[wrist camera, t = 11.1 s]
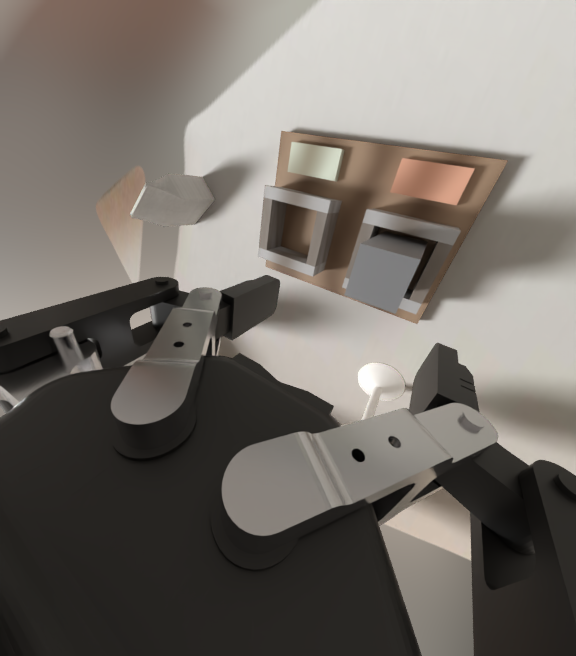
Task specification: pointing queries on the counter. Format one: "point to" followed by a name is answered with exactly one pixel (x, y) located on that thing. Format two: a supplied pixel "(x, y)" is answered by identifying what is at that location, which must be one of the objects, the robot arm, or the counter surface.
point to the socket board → (369, 209)
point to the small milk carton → (173, 200)
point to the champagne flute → (379, 385)
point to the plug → (384, 270)
